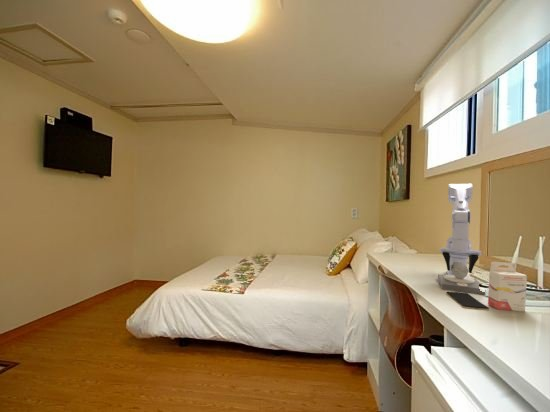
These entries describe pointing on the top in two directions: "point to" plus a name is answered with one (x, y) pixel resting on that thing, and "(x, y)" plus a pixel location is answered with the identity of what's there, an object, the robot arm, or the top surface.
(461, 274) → the gray bumpy ball
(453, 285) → the kitchen scale
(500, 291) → the ink cartridge box
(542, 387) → the top surface
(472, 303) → the smartphone
